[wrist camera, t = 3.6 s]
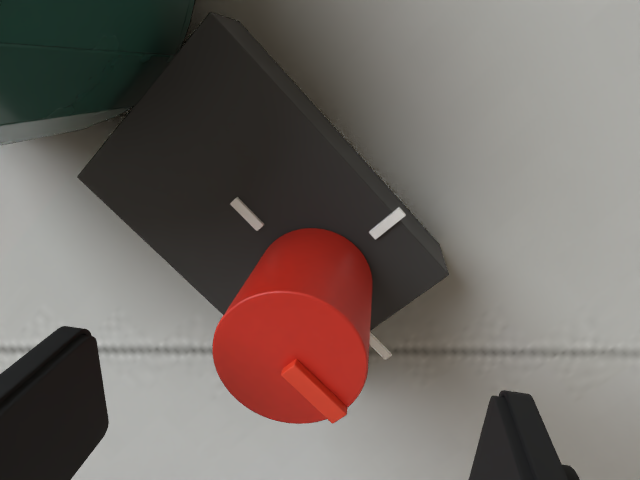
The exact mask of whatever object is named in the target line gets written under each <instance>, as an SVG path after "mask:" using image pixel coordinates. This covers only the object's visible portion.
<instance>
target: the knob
mask: <svg viewBox="0 0 640 480" xmlns="http://www.w3.org/2000/svg"><path fill="white" fill-rule="evenodd" d="M371 304H372V274H371V271H370V267H369V265H368V263H367V260H366V259H365V257H364V255H363V254H362V253H361V251H360V250H359V249H358V248H357V247H356V246H355V245H354V244H353V243H352V242H350V241H349V240H348V239H346V238H345V237H343V236H341V235H339V234H337V233H334V232H332V231H328V230H324V229H318V228H305V229H298V230H294V231H291V232H289V233H286V234H284V235H283V236H281V237H279V238H278V239H277V240H275V241H274V242H273V243H272V244H271V245H270V246H269V247H268V249H267V250H266V251H265V253H264V254H263V256H262V257H261V259H260V260H259V262H258V263H257V265H256V266H255V268H254V270H253V271H252V273H251V274H250V276H249V277H248V279H247V280H246V282H245V283H244V285H243V286H242V288H241V289H240V291H239V292H238V294H237V295H236V297H235V299H234V300H233V302H232V303H231V305H230V306H229V308H228V309H227V311H226V312H225V314H224V315H223V317H222V318H221V320H220V322H219V324H218V326H217V328H216V331H215V334H214V339H213V359H214V364H215V367H216V370H217V373H218V375H219V377H220V379H221V381H222V382H223V384H224V386H225V387H226V388H227V389H228V391H229V392H230V393H231V394H232V395H233V396H234V397H235V398H236V399H237V400H238V401H239V402H240V403H242V404H243V405H244V406H246V407H247V408H249V409H250V410H252V411H254V412H255V413H257V414H259V415H262V416H264V417H267V418H269V419H272V420H276V421H280V422H286V423H296V424H302V423H313V422H318V421H322V420H326V419H328V420H329V421H330V422H331V423H335V422H336V421H338V420H339V419H341V418H342V417H344V416H345V415H346V414H347V407H349V406H350V405H351V404H352V403H353V402H354V401H355V399H356V398H357V397H358V395H359V394H360V392H361V390H362V389H363V387H364V384H365V381H366V378H367V373H368V361H369V342H370V323H371Z"/></svg>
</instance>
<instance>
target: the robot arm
mask: <svg viewBox="0 0 640 480" xmlns="http://www.w3.org/2000/svg"><path fill="white" fill-rule="evenodd" d="M107 428H108V414H107V408H106V401H105V394H104V388H103V381H102V374H101V368H100V361H99V355H98V348H97V342H96V339H95V338H94V337H93V336H91V333H90V332H89V330H87V329H81V328H75V327H68V326H63V327H60V328H59V329H57V330H56V331H55V332H53V333H52V334H51V335H50V336H48V337H47V338H46V339H44V340H43V341H42V342H41V343H39V344H38V345H37V346H36V347H34V348H33V349H32V350H31V351H29V352H28V353H27V354H25V355H24V356H23V357H22V358H20V359H19V360H18V361H17V362H15V363H14V364H13V365H12V366H10V367H9V368H8V369H6V370H5V371H4V372H3V373H1V374H0V480H71V478H72V477H73V476H74V474H75V473H76V472H77V471H78V469H79V468H80V467H81V465H82V464H83V463H84V461H85V460H86V459H87V458H88V456H89V455H90V454H91V452H92V451H93V450H94V449H95V447H96V446H97V445H98V443H99V442H100V441H101V440H102V438H103V437H104V435H105V433H106V431H107ZM469 480H580V479H579V477H578V475H577V474H576V472H575V470H574V469H573V468H572V467H570V466H567V465H561V462H560V460H559V458H558V455H557V453H556V451H555V448H554V446H553V444H552V441H551V439H550V437H549V434H548V432H547V430H546V428H545V425H544V423H543V421H542V418H541V416H540V414H539V411H538V409H537V407H536V404H535V402H534V400H533V398H532V396H531V395H529V394H525V393H518V392H511V391H505V390H503V391H501V392H500V394H499V397H498V396H492V397H491V399H490V402H489V405H488V409H487V413H486V417H485V420H484V424H483V428H482V432H481V436H480V439H479V443H478V447H477V451H476V454H475V458H474V462H473V466H472V470H471V473H470V477H469Z"/></svg>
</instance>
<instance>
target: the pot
mask: <svg viewBox="0 0 640 480" xmlns="http://www.w3.org/2000/svg"><path fill="white" fill-rule="evenodd" d="M194 2H195V0H2V1H1V6H0V145H5V144H10V143H16V142H21V141H26V140H31V139H36V138H41V137H46V136H51V135H57V134H62V133H67V132H72V131H77V130H82V129H85V128H87V127H89V126H91V125H94V124H96V123H99V122H102V121H105V120H108V119H110V118H113V117H115V116H117V115H119V114H121V113H123V112H125V111H127V110H128V109H130V108H132V107H134V106H135V105H136V103H137V102H138V101H139V100H140V98H141V97H142V96H143V95H144V94H145V92H146V91H147V90H148V89H149V87H150V86H151V85H152V84H153V82H154V81H155V80H156V79H157V77H158V76H159V75H160V74H161V72H162V71H163V70H164V69H165V68H166V66H167V65H168V64H169V63H170V61H171V60H172V59H173V58H174V56H175V55H176V54H177V53H178V51H179V50H180V48H181V46H182V43H183V41H184V38H185V35H186V32H187V29H188V26H189V24H190V20H191V15H192V11H193V6H194Z"/></svg>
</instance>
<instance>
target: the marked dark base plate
mask: <svg viewBox="0 0 640 480" xmlns="http://www.w3.org/2000/svg"><path fill="white" fill-rule="evenodd" d="M78 178H79V179H80V180H81V181H82V182H83V183H84V184H85V185H86V186H87V187H88V188H89V189H90V190H91V191H92V192H93V193H95V194H96V195H97V196H98V197H99V198H100V199H101V200H102V201H103V202H104V203H105V204H106V205H107V206H108V207H109V208H110V209H111V210H113V211H114V212H115V213H116V214H117V215H118V216H119V217H120V218H121V219H122V220H123V221H124V222H125V223H126V224H127V225H128V226H130V227H131V228H132V229H133V230H134V231H135V232H136V233H137V234H138V235H139V236H140V237H141V238H142V239H143V240H144V241H145V242H147V243H148V244H149V245H150V246H151V247H152V248H153V249H154V250H155V251H156V252H157V253H158V254H159V255H160V256H161V257H162V258H163V259H165V260H166V261H167V262H168V263H169V264H170V265H171V266H172V267H173V268H174V269H175V270H176V271H177V272H178V273H179V274H180V275H182V276H183V277H184V278H185V279H186V280H187V281H188V282H189V283H190V284H191V285H192V286H193V287H194V288H195V289H196V290H197V291H199V292H200V293H201V294H202V295H203V296H204V297H205V298H206V299H207V300H208V301H209V302H210V303H211V304H212V305H213V306H214V307H215V308H217V309H218V310H219V311H220V312H221V313H222V314H223V315H224V314H225V312H226V311H227V309H228V308H229V306H230V305H231V303H232V302H233V300H234V299H235V297H236V295H237V294H238V292H239V291H240V289H241V288H242V286H243V285H244V283H245V282H246V280H247V279H248V277H249V276H250V274H251V273H252V271H253V270H254V268H255V266H256V265H257V263H258V262H259V260H260V259H261V257H262V256H263V254H264V253H265V251H266V250H267V249H268V247H269V246H270V245H271V244H272V243H273V242H274V241H275V240H277V239H278V238H279V237H281V236H283V235H284V234H286V233H289V232H291V231H294V230H298V229H305V228H318V229H324V230H328V231H332V232H334V233H337V234H339V235H341V236H343V237H345V238H346V239H348V240H349V241H350V242H352V243H353V244H354V245H355V246H356V247H357V248H358V249H359V250H360V251H361V253H362V254H363V255H364V257H365V259H366V260H367V263H368V265H369V267H370V271H371V274H372V304H371V323H370V331H371V330H372V329H373V328H375V327H376V326H378V325H379V324H380V323H382V322H383V321H385V320H386V319H387V318H389V317H390V316H392V315H393V314H394V313H396V312H397V311H399V310H400V309H401V308H403V307H404V306H406V305H407V304H409V303H410V302H411V301H413V300H414V299H416V298H417V297H418V296H420V295H421V294H423V293H424V292H425V291H427V290H428V289H430V288H431V287H432V286H434V285H435V284H437V283H438V282H440V281H441V280H442V279H444V278H445V277H447V276H448V275H449V273H448V270H447V267H446V264H445V261H444V258H443V254H442V251H441V248H440V245H439V243H438V242H437V241H436V240H435V239H434V238H433V237H432V236H431V235H430V233H429V232H428V231H427V230H426V229H425V228H424V227H423V226H422V225H421V223H420V222H419V221H418V220H417V219H416V218H415V217H414V216H413V215H412V213H411V212H410V211H409V210H408V209H407V208H406V207H405V206H404V204H403V203H402V202H401V201H400V200H399V199H398V198H397V197H396V196H395V194H394V193H393V192H392V191H391V190H390V189H389V188H388V187H387V186H386V184H385V183H384V182H383V181H382V180H381V179H380V178H379V177H378V176H377V174H376V173H375V172H374V171H373V170H372V169H371V168H370V167H369V165H368V164H367V163H366V162H365V161H364V160H363V159H362V158H361V157H360V155H359V154H358V153H357V152H356V151H355V150H354V149H353V148H352V147H351V145H350V144H349V143H348V142H347V141H346V140H345V139H344V138H343V137H342V135H341V134H340V133H339V132H338V131H337V130H336V129H335V128H334V127H333V125H332V124H331V123H330V122H329V121H328V120H327V119H326V118H325V116H324V115H323V114H322V113H321V112H320V111H319V110H318V109H317V108H316V106H315V105H314V104H313V103H312V102H311V101H310V100H309V99H308V98H307V96H306V95H305V94H304V93H303V92H302V91H301V90H300V89H299V88H298V86H297V85H296V84H295V83H294V82H293V81H292V80H291V79H290V77H289V76H288V75H287V74H286V73H285V72H284V71H283V70H282V69H281V67H280V66H279V65H278V64H277V63H276V62H275V61H274V60H273V59H272V57H271V56H270V55H269V54H268V53H267V52H266V51H265V50H264V49H263V47H262V46H261V45H260V44H259V43H258V42H257V41H256V40H255V39H254V37H253V36H252V35H251V34H250V33H249V32H248V31H247V30H246V28H245V27H244V26H243V25H242V24H241V23H240V22H239V21H236V20H233V19H230V18H227V17H224V16H221V15H218V14H215V13H212V12H210V13H209V14H208V16H207V17H206V18H205V19H204V21H203V22H202V23H201V24H200V25H199V27H198V28H197V29H196V30H195V32H194V33H193V34H192V35H191V37H190V38H189V39H188V40H187V42H186V43H185V44H184V45H183V47H182V48H181V49H180V50H179V51H178V53H177V54H176V55H175V56H174V58H173V59H172V60H171V61H170V63H169V64H168V65H167V66H166V68H165V69H164V70H163V71H162V72H161V74H160V75H159V76H158V77H157V79H156V80H155V81H154V82H153V84H152V85H151V86H150V87H149V89H148V90H147V91H146V92H145V94H144V95H143V96H142V97H141V98H140V100H139V101H138V102H137V103H136V105H135V106H134V107H133V108H132V110H131V111H130V112H129V113H128V115H127V116H126V117H125V118H124V120H123V121H122V122H121V123H120V124H119V126H118V127H117V128H116V129H115V131H114V132H113V133H112V134H111V136H110V137H109V138H108V139H107V141H106V142H105V143H104V144H103V145H102V147H101V148H100V149H99V150H98V152H97V153H96V154H95V155H94V157H93V158H92V159H91V160H90V162H89V163H88V164H87V165H86V167H85V168H84V169H83V170H82V171H81V173H80V174H79V175H78ZM369 345H370V346H371V347H372V348H373V349H374V350H375V351H376V352H377V353H378V354H379V355H380V356H381V357H382V358H383V359H384V360H386V359H387V358H389V357H390V356H392V353H391V352H390V351H389V350H388V349H387V348H386V347H385V346H384V345H383V344H382V343H381V342H380V341H379V340H378V339H377V338H376V337H375V336H374V335H373V334H372V333H371V332H370V342H369Z"/></svg>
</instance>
